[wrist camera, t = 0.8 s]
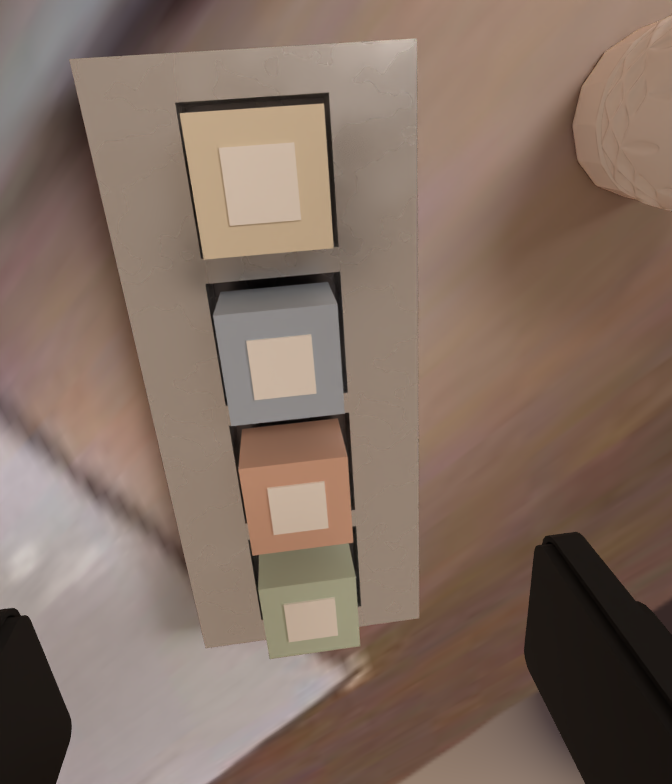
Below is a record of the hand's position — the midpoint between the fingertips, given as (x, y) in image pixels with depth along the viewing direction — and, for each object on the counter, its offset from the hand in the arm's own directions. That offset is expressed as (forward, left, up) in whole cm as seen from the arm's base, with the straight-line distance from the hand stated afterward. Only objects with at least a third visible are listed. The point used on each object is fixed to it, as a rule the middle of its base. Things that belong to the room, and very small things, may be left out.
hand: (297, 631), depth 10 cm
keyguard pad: (0, +3, -18) cm, 19 cm away
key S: (0, -7, -16) cm, 17 cm away
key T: (0, 0, -16) cm, 16 cm away
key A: (0, +6, -16) cm, 17 cm away
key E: (0, +13, -16) cm, 20 cm away
